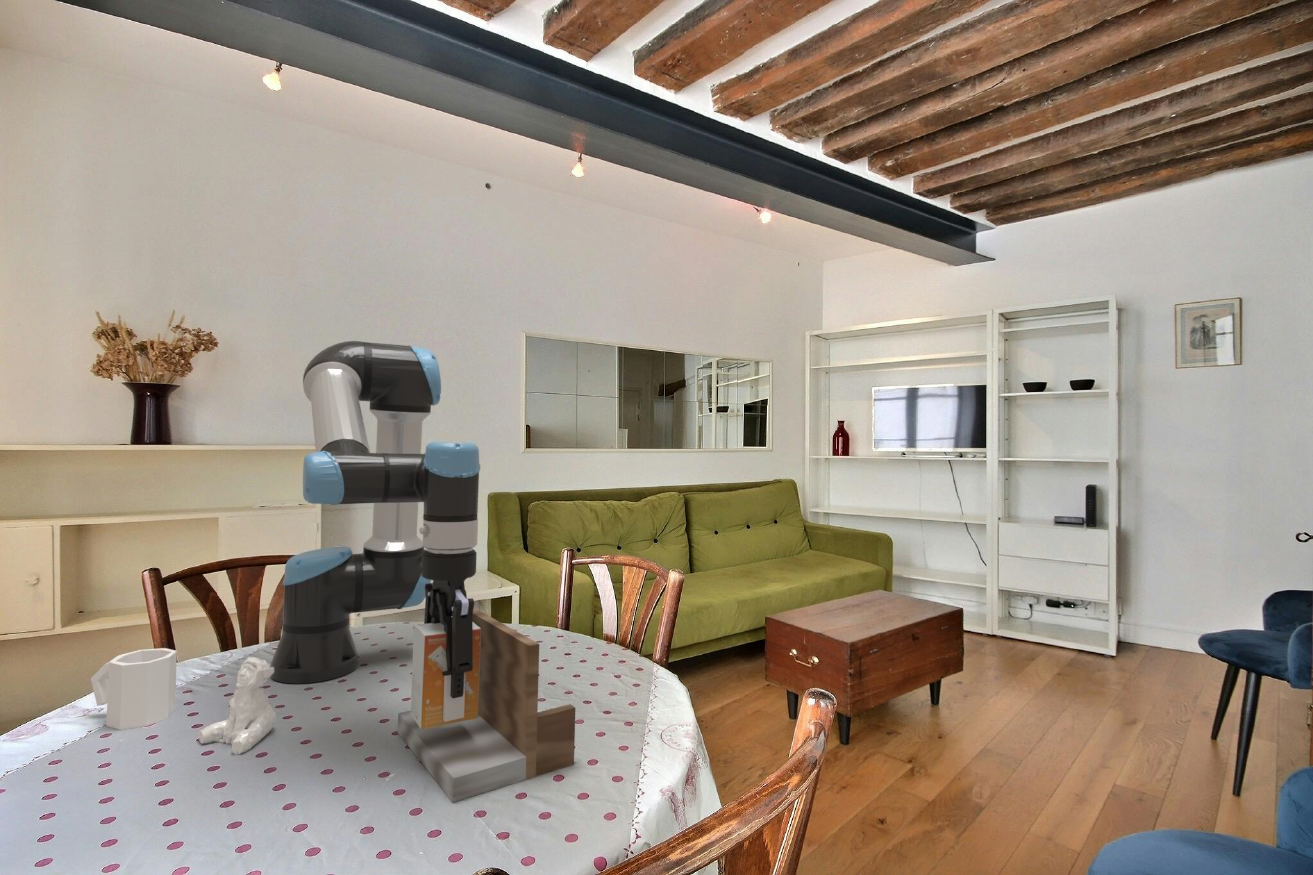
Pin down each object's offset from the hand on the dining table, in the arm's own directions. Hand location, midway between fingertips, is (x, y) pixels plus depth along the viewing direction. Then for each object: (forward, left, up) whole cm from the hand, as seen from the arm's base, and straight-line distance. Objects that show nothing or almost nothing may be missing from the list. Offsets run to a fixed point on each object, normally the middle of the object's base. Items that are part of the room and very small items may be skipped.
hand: (444, 709), depth 93 cm
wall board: (0, +6, -7) cm, 9 cm away
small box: (0, 0, -1) cm, 1 cm away
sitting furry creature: (-23, -22, -7) cm, 33 cm away
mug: (-41, -36, -7) cm, 55 cm away
